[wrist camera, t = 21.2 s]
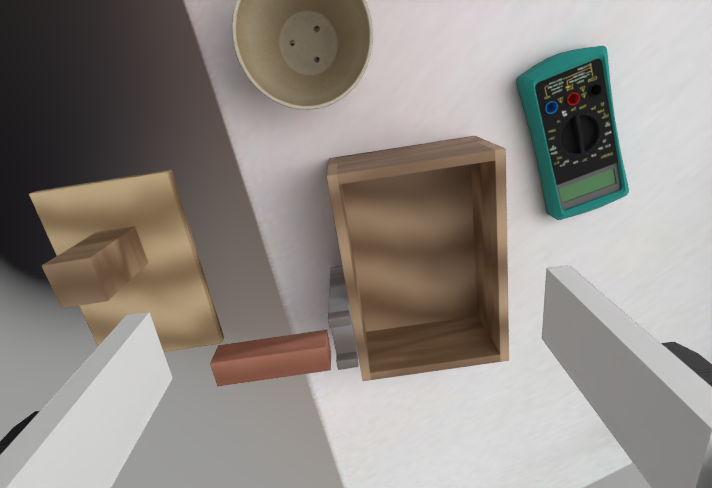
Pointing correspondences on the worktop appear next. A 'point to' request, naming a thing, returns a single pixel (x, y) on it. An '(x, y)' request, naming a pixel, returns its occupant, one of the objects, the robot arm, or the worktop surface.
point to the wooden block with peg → (128, 258)
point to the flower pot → (303, 48)
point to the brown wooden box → (420, 258)
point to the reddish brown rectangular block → (271, 358)
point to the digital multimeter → (574, 131)
